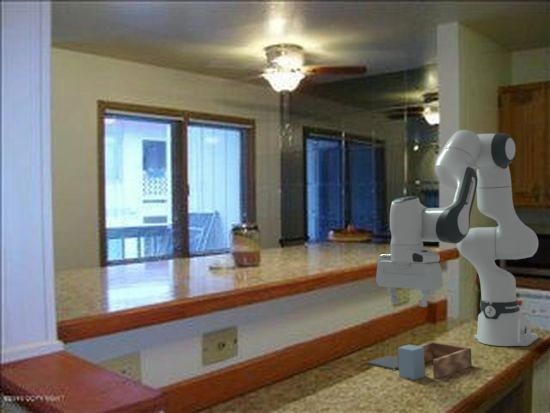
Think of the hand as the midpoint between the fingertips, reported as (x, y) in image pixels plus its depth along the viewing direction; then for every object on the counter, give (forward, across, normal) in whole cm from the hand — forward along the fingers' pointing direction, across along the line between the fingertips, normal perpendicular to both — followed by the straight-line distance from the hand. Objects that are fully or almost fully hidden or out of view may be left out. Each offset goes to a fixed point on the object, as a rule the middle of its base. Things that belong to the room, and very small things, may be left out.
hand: (408, 304), depth 157 cm
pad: (+20, -12, +7) cm, 24 cm away
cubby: (+20, 0, +11) cm, 23 cm away
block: (+20, 0, +1) cm, 20 cm away
